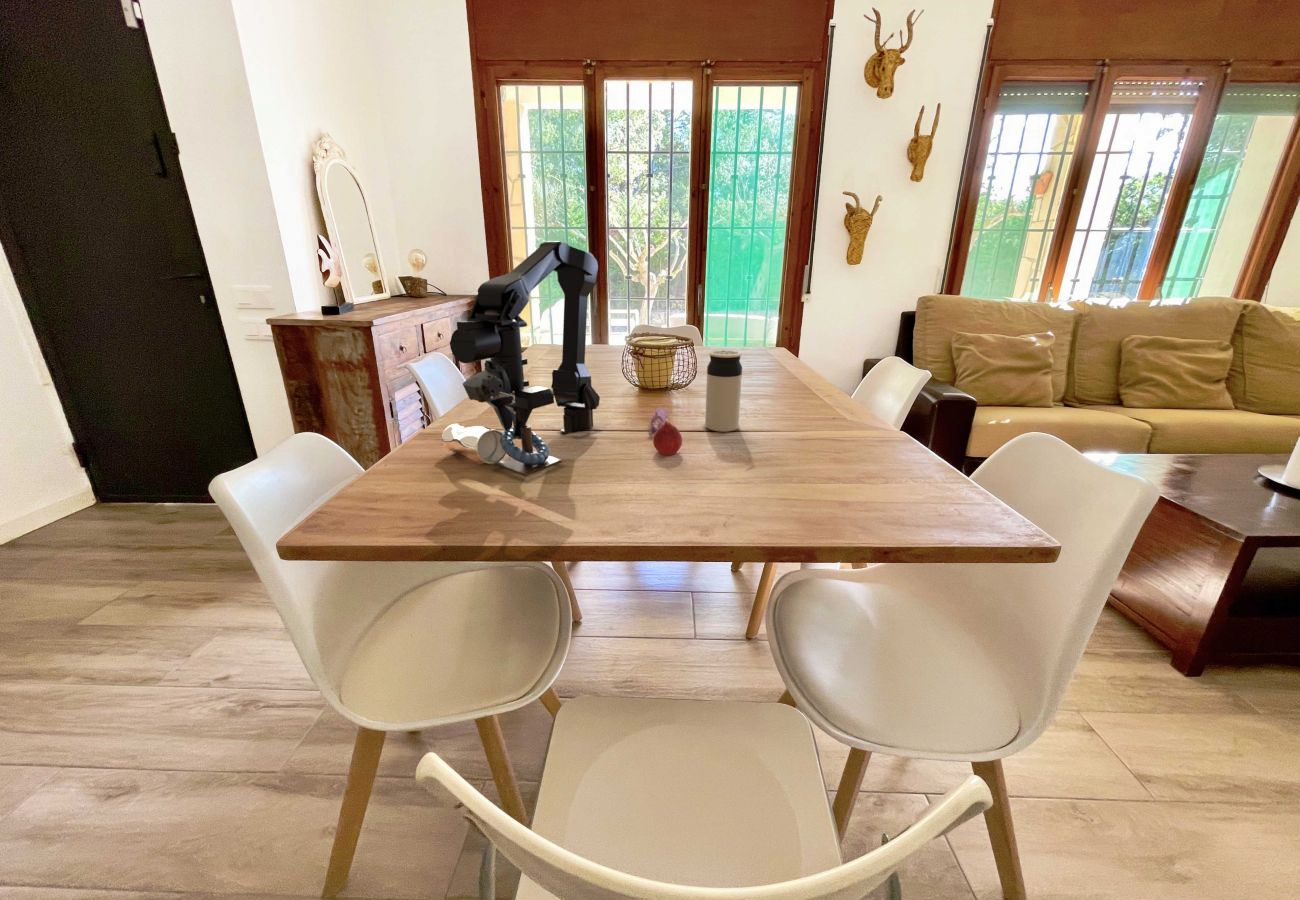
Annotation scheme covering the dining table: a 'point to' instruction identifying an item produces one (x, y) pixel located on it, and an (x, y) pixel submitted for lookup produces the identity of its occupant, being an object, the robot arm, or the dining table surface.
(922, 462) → the dining table surface
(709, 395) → the travel mug
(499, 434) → the beer glass
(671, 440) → the onion
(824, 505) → the dining table surface
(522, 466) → the stand
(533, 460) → the blue ribbed ring toss
